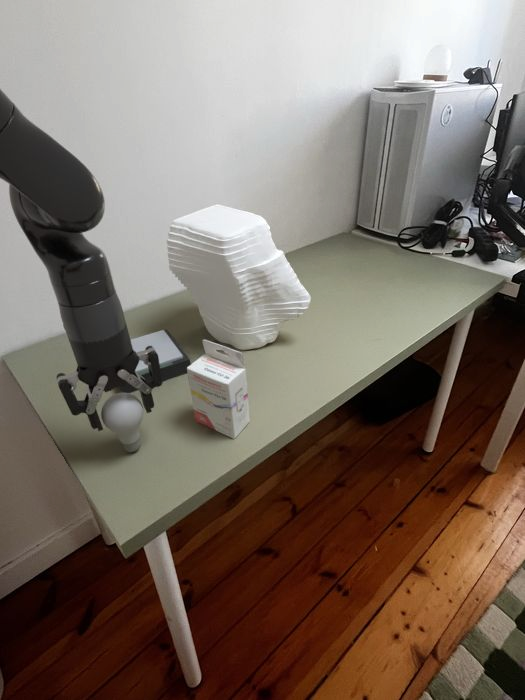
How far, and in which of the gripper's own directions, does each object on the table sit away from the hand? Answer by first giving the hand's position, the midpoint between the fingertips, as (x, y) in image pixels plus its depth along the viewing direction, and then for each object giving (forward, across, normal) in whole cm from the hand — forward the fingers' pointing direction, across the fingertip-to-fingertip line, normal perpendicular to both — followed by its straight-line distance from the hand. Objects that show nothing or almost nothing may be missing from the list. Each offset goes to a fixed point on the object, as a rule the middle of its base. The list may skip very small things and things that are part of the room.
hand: (124, 418), depth 66 cm
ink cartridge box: (+7, +15, -2) cm, 17 cm away
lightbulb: (+7, 0, 0) cm, 7 cm away
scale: (+7, +9, +22) cm, 25 cm away
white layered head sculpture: (+7, +30, +22) cm, 38 cm away
